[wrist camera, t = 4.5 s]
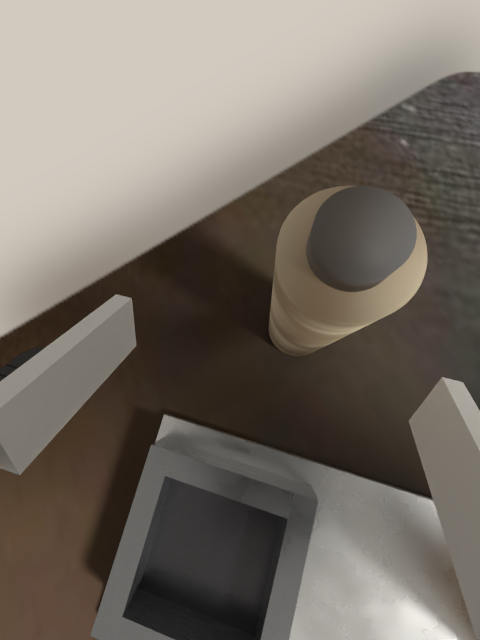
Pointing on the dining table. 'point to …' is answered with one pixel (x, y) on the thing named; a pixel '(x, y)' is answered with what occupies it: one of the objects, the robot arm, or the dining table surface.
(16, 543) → the dining table surface
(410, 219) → the birch leg peg
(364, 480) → the bolt plate
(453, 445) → the robot arm
